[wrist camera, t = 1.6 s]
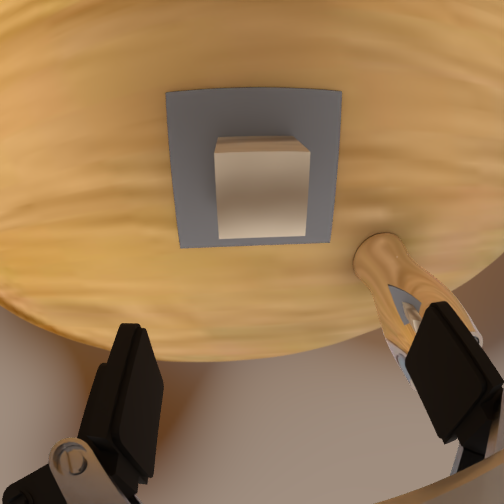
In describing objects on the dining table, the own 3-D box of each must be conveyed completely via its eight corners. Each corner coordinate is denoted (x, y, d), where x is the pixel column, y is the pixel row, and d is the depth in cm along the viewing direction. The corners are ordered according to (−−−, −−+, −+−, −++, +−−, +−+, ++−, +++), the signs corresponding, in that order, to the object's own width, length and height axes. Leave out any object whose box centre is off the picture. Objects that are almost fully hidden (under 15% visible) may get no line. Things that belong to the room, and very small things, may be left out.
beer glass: (407, 273, 33) (474, 372, 20) (352, 292, 33) (404, 404, 20) (406, 220, 29) (494, 316, 16) (344, 239, 30) (411, 354, 17)
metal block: (217, 137, 24) (214, 153, 19) (292, 136, 24) (310, 151, 19) (221, 206, 27) (218, 239, 22) (290, 203, 27) (305, 235, 22)
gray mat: (166, 92, 22) (165, 92, 22) (339, 91, 23) (342, 91, 22) (181, 245, 29) (180, 248, 29) (328, 240, 30) (329, 242, 29)
